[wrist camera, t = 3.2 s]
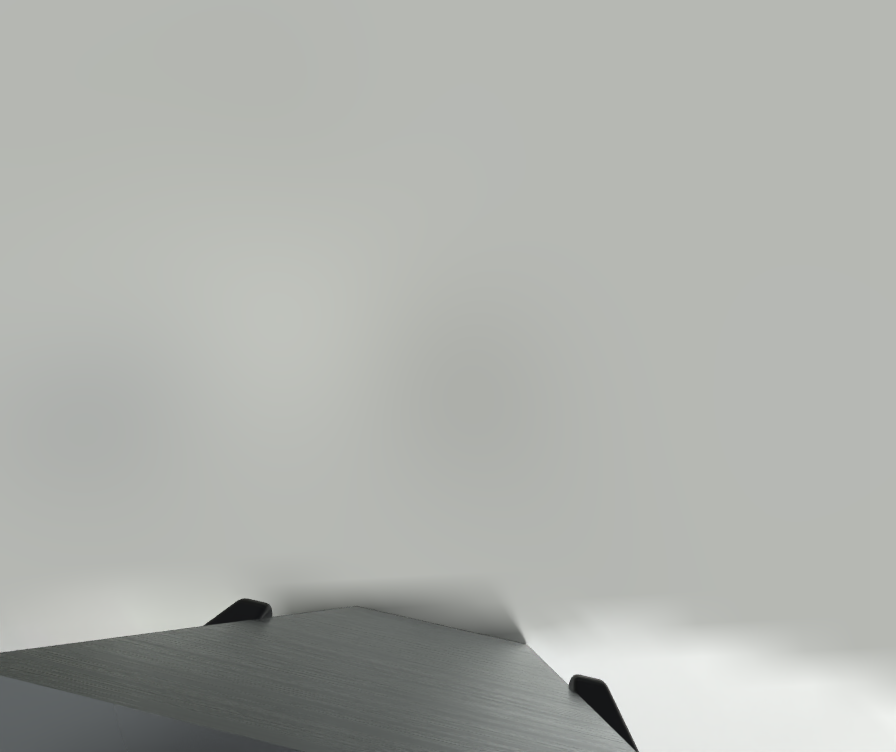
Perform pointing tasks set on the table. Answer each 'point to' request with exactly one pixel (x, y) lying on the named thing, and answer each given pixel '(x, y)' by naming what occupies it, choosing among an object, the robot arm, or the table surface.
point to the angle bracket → (295, 691)
